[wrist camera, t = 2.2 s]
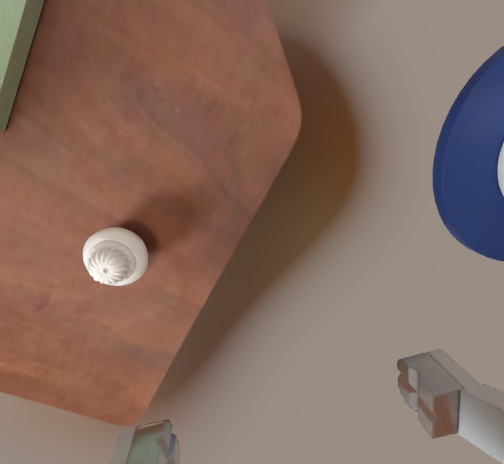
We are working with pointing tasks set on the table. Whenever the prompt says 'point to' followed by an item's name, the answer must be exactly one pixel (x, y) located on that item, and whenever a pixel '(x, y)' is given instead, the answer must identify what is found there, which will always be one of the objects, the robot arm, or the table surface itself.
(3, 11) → the tray
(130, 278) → the muffin
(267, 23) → the table surface
